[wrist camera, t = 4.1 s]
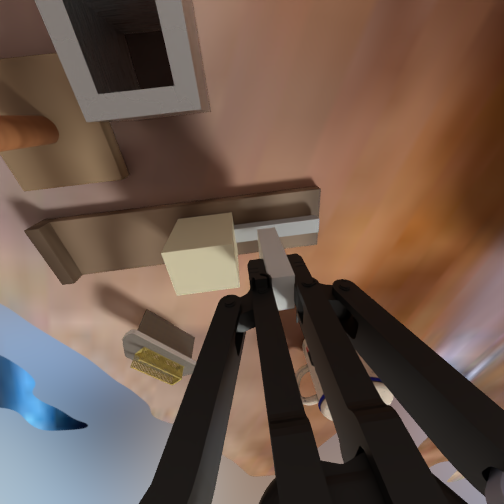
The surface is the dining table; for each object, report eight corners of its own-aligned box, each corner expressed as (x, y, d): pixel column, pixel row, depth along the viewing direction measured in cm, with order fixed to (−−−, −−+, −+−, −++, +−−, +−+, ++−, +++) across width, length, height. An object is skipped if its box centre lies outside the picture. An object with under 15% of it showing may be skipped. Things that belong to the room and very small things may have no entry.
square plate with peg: (84, 56, 15) (-45, 3, 8) (129, 175, 20) (70, 210, 12) (-34, 69, 15) (-274, 26, 8) (37, 186, 19) (-77, 228, 12)
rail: (317, 186, 21) (326, 193, 19) (314, 239, 25) (321, 251, 23) (43, 219, 21) (23, 230, 19) (76, 270, 24) (62, 284, 22)
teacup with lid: (347, 311, 31) (402, 401, 21) (364, 343, 36) (416, 430, 26) (273, 344, 34) (291, 438, 24) (297, 370, 38) (321, 459, 28)
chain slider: (316, 201, 21) (345, 229, 16) (314, 239, 23) (338, 274, 18) (177, 219, 20) (160, 253, 15) (188, 255, 23) (176, 295, 17)
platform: (189, 369, 36) (182, 415, 30) (79, 315, 28) (42, 364, 22) (244, 333, 33) (247, 378, 27) (137, 260, 25) (111, 302, 19)
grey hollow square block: (192, 3, 14) (167, -76, 8) (210, 111, 18) (201, 109, 12) (100, 12, 14) (8, -61, 8) (135, 120, 17) (86, 122, 12)
